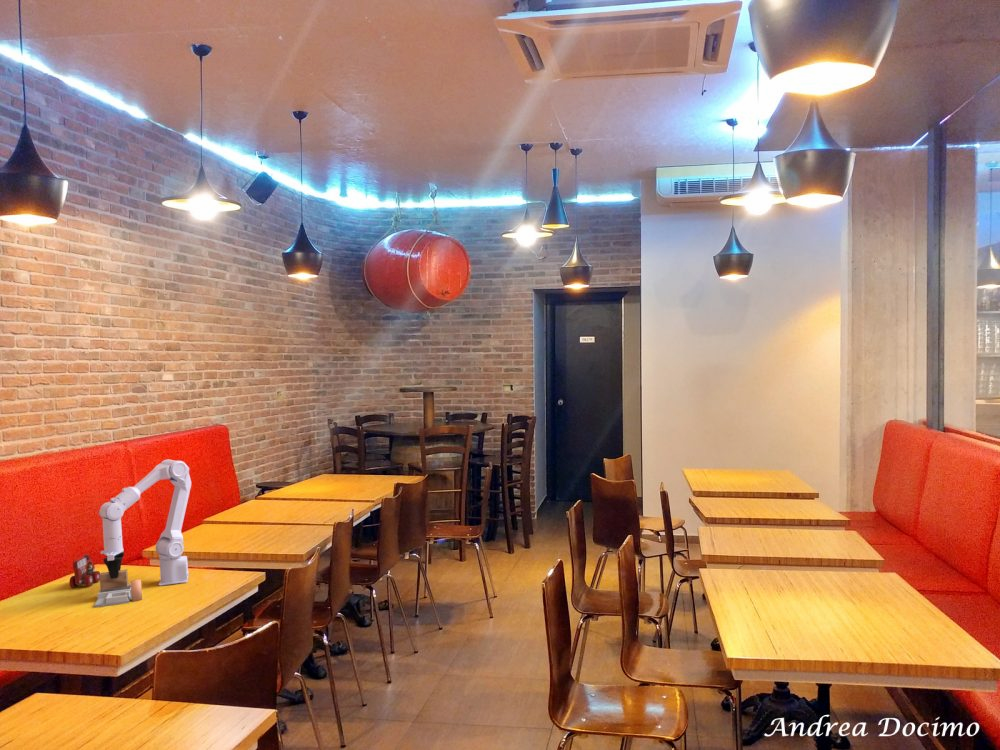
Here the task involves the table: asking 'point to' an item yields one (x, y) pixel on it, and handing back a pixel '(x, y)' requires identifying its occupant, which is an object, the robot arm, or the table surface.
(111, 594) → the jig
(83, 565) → the toy fire truck
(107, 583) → the tan rectangular block
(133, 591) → the tail peg
